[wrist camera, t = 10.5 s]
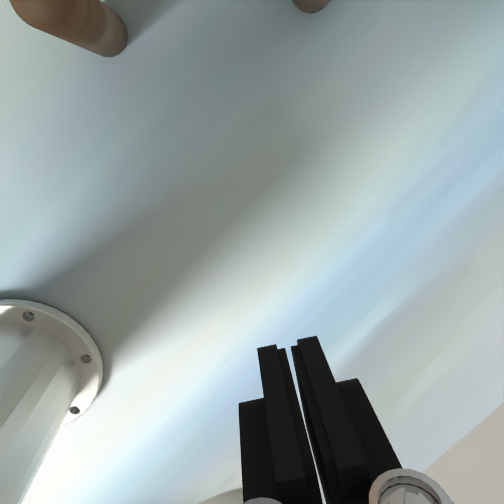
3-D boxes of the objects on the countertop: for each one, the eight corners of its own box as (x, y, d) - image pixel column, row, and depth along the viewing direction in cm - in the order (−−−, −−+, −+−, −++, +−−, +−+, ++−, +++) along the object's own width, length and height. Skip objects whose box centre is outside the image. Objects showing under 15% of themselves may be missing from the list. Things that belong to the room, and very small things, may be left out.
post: (93, 60, 24) (23, 36, 16) (77, 14, 23) (-5, -39, 15) (132, 52, 24) (84, 23, 16) (119, 5, 23) (60, -53, 15)
